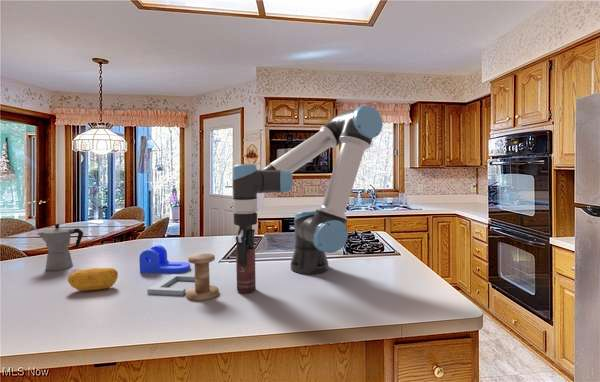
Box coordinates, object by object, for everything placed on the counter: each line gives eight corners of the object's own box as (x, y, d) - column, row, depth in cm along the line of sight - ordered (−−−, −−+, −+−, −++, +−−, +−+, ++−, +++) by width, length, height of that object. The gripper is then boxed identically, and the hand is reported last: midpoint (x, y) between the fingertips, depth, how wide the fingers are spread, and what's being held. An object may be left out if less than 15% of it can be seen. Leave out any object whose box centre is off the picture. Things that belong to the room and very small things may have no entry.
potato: (77, 286, 112) (75, 266, 111) (121, 284, 114) (121, 264, 113) (65, 294, 105) (63, 273, 104) (113, 292, 107) (112, 271, 106)
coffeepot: (35, 272, 127) (32, 227, 126) (43, 266, 135) (40, 223, 134) (82, 267, 133) (80, 224, 132) (87, 261, 141) (85, 220, 140)
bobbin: (223, 289, 108) (222, 253, 107) (211, 301, 98) (210, 261, 98) (194, 288, 110) (193, 252, 109) (180, 300, 100) (178, 260, 99)
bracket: (139, 273, 127) (139, 250, 126) (151, 266, 135) (150, 245, 134) (184, 273, 125) (184, 250, 125) (193, 267, 133) (192, 245, 133)
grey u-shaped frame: (202, 279, 118) (202, 275, 118) (182, 295, 103) (182, 290, 103) (171, 278, 120) (171, 274, 120) (147, 293, 105) (147, 289, 105)
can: (252, 294, 104) (252, 251, 103) (234, 293, 105) (233, 250, 104) (258, 287, 110) (258, 246, 109) (241, 286, 111) (240, 246, 110)
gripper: (241, 209, 113) (242, 275, 115) (226, 215, 99) (227, 291, 100) (262, 209, 112) (263, 276, 114) (250, 215, 98) (251, 292, 99)
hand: (246, 283), depth 107 cm, fingers closed
